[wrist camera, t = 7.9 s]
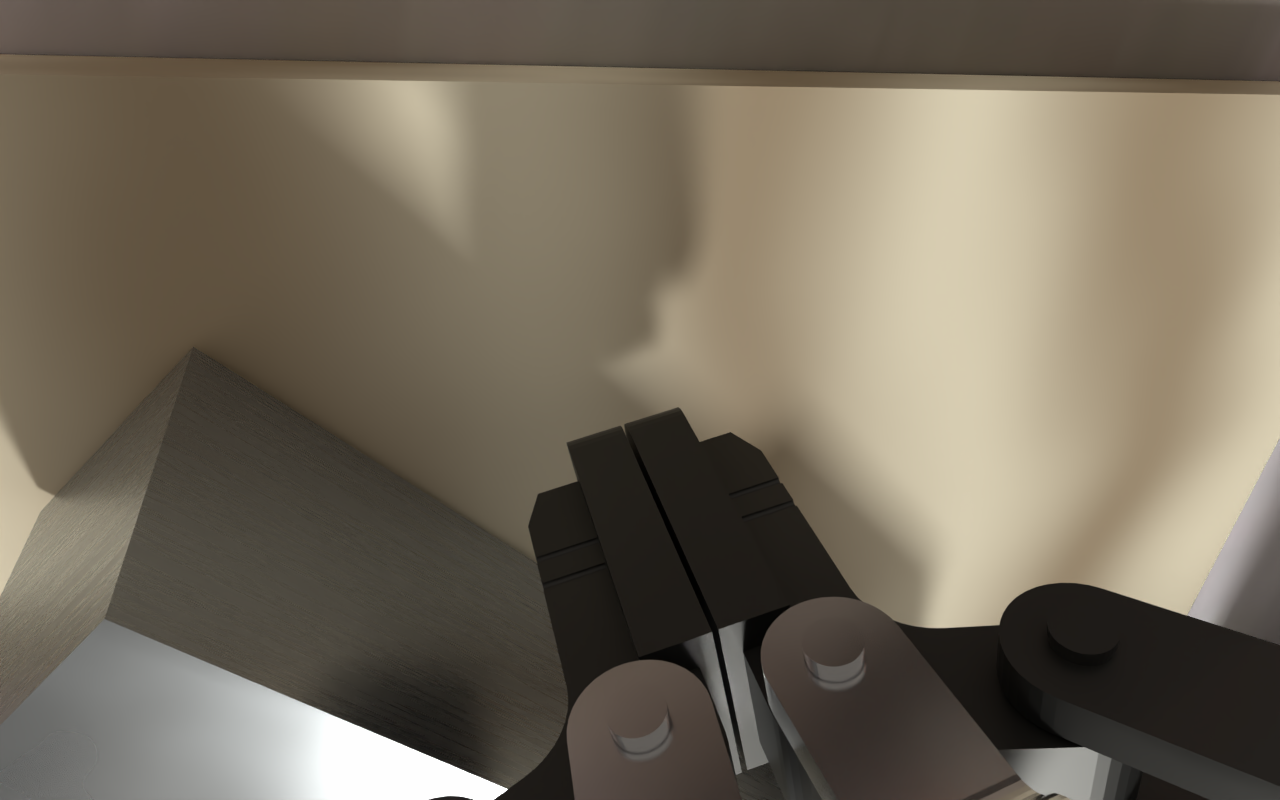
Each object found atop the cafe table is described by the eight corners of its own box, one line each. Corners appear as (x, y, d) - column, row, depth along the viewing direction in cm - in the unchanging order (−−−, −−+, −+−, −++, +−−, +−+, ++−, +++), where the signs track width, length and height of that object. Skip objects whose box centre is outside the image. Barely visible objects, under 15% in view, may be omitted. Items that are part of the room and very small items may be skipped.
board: (85, 1075, 19) (73, 1130, 18) (-464, 43, 8) (-550, 65, 8) (1027, 844, 25) (1049, 878, 25) (1396, 83, 15) (1457, 97, 14)
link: (908, 746, 19) (1041, 964, 15) (734, 880, 20) (821, 1115, 16) (247, 288, 10) (186, 533, 7) (-8, 563, 11) (-186, 915, 7)
